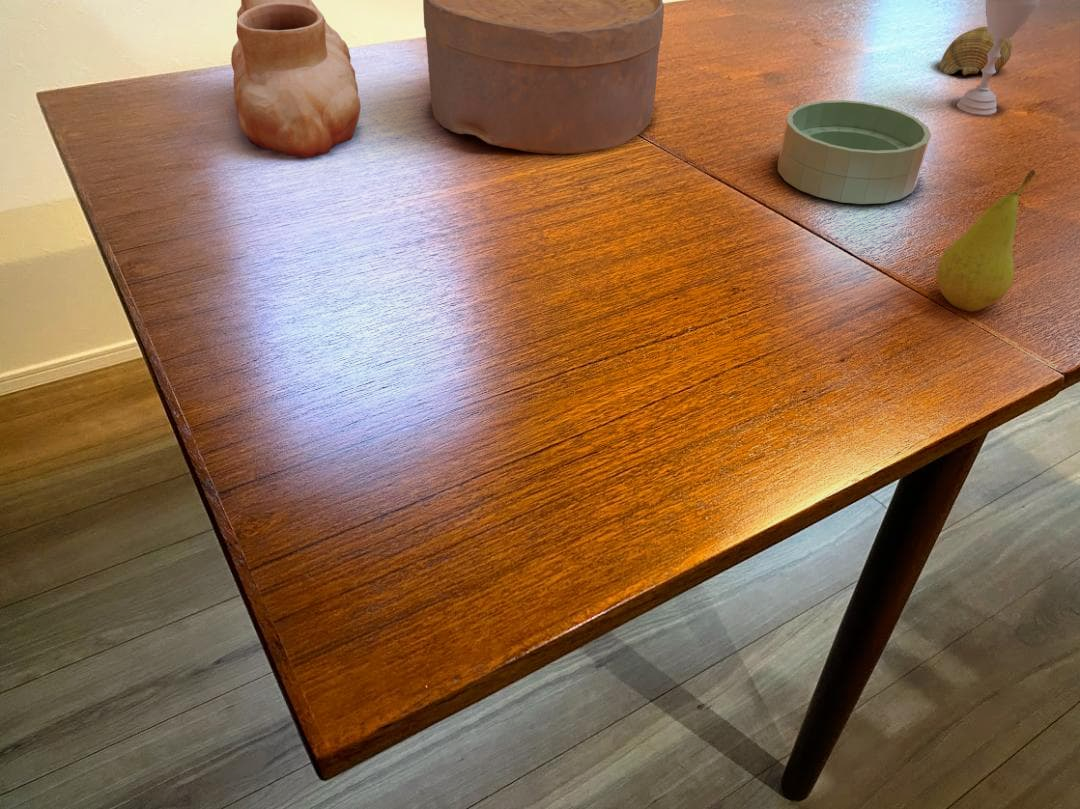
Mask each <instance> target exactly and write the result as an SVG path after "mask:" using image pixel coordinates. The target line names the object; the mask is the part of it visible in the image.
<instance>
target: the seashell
mask: <svg viewBox="0 0 1080 809" xmlns="http://www.w3.org/2000/svg"><path fill="white" fill-rule="evenodd" d="M993 45H994V37H992V36H991V35H989V33H988V26H980V27H976V28H973V29H970V30H968V31H966V32H964V33H961V34H960V35H958V36H957V37H956V38H955V39H954V40H953V41H952V42H951V43H950V44H949V45H948V46H947V48H946V50H945V51H944V53H943V54H942V57H941V60H940V62H939V66H938V69H939V71H940V72H942V73H943V74H945V75H947V76H948V75H952V74H955V73H957V72H959V71H960V70H961V73H962V75H963V76H967V75H969V74H971V75H972V74H974V75H975V74H978V73H979V72H981V73H982V71H981V69H983V68H984V67H985V66H986V64H987V63H988V56H987V54H988V53H989V52H990V50H991V48H992V47H993ZM1012 48H1013V46H1012V41H1011V38H1007V39H1004V41H1003V42H1002V44H1001V48H1000V55H1001V57H999V58H998V59H997V61H996V63H995V70H996V72H998V71H1000V70H1001V69H1003V68H1004V67H1005V65H1006V64H1007V63H1008V61H1009V60H1010V59H1011V55H1012V50H1013V49H1012Z"/></svg>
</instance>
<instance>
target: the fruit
mask: <svg viewBox="0 0 1080 809" xmlns="http://www.w3.org/2000/svg"><path fill="white" fill-rule="evenodd" d="M1035 175H1036V171H1035V170H1033V169H1032V170H1030V171H1029V172H1028V173H1027V175H1026V176H1025V178H1024V180H1023V181H1022V182H1023V183H1022V184H1021V185H1020V186H1019V188H1017V190H1016V191H1015V192H1012V193H1008V194H1005V195H1003V196H1002V197H1000V198H998V199H997V200H995V202H993V203H992V204H991V205H990V206H989V207H988V208H987V209H986V210H984V212H982V213H981V215H980V216H979V217H978V218H977V220H976V221H975V222H974V223H973V224H971V226H970V227H969V228H968V229H967V231H965V233H963V234H962V235H961V236H960V237H958V238H957V239H956V240H954V241H953V243H951V244H950V245H949V246H948V247H947V248H946V249H945V250H944V253H943V254H942V256H941V258H940V259H939V262H938V263H937V268H936V274H935V275H936V276H935V279H936V283H937V286H938V288H939V291H940V292H941V294H942V296H943V297H944V299H946V301H947V302H948V303H949V304H950V305H952V306H953V307H955V308H957V309H959V310H961V311H966V312H971V313H972V312H973V313H974V312H978V311H981V310H982V309H985V308H987V307H990V306H991V305H993V304H995V303H996V302H998V301H999V300H1000V299H1002V298H1003V297H1004V296H1005V295H1006V294H1007V292H1008V291H1009V290H1010V289H1011V286H1012V284H1013V281H1014V278H1015V263H1014V262H1015V261H1014V257H1013V256H1014V255H1013V245H1014V239H1015V234H1016V228H1017V222H1018V219H1017V217H1018V206H1019V196H1020V194H1021V193H1022V192H1023V191H1024V189H1025V188H1026V187H1027V186H1028V184H1029V183H1030V182H1031V180H1032V178H1033V177H1034V176H1035Z"/></svg>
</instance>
